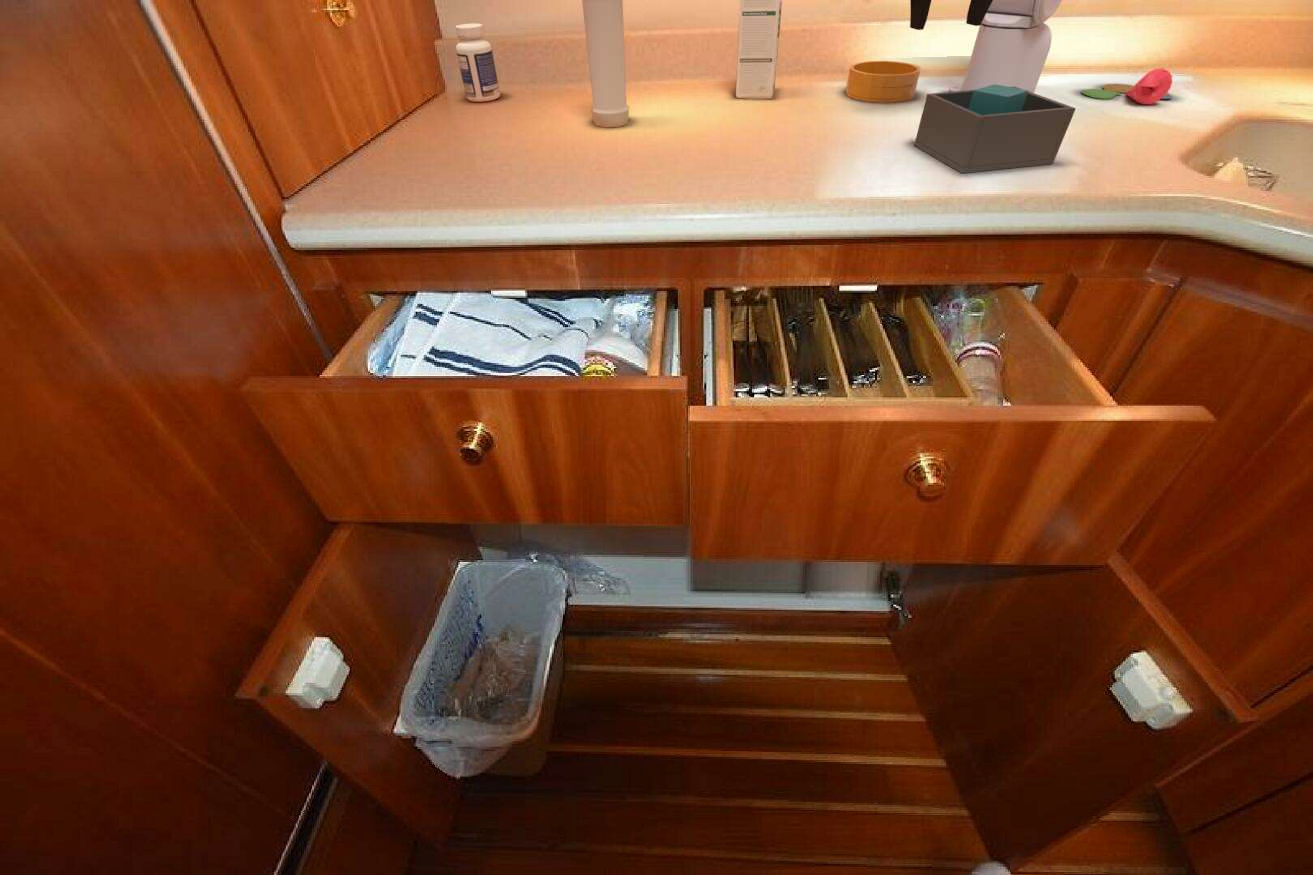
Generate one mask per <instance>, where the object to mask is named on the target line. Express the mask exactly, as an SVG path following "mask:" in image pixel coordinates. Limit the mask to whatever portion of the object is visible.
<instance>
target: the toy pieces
mask: <svg viewBox="0 0 1313 875" xmlns="http://www.w3.org/2000/svg"><path fill="white" fill-rule="evenodd" d="M1172 84H1173V75H1172V73H1171V72H1170V71H1169V70H1167V69H1166V68H1163V67H1162V68H1155V69H1152V70H1150V71H1148V72H1146V74H1145V75H1144V76H1142V77H1141V79H1139V80H1138V81H1137V82H1136V83H1135V84H1134V85H1132V84H1123V83H1108V84H1103V86H1102V88H1089V89H1083V90H1081V91H1080V93H1081V94H1082V95H1084V96H1087V97H1091V98H1094V99H1100V100H1101V99H1102V100H1105V99H1106V100H1107V99H1109V100H1110V99H1113V98H1114V97H1116V96H1122V94H1125V95H1126V96H1128V97H1129V98H1130V99H1132V100H1134V101H1136V102H1137V103H1139V104H1140V105H1151V104H1154V103H1156V102H1158V101H1160V100H1172V99H1173V95H1171V94H1170V93H1168V92H1169V91H1170V90H1171V87H1172Z"/></svg>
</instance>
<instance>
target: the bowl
mask: <svg viewBox="0 0 1313 875" xmlns="http://www.w3.org/2000/svg"><path fill="white" fill-rule="evenodd" d="M921 70H922V69H921V67H919V66H918V65H915V64H913V63H908V62H902V61H894V60H893V61H892V60H870V61H861V62H856V63H853V64H851V65H850V67H849V70H848V75H847V76H848V77H847V82H846V87H845V95H846V96H847V97H849V98H850V99H852V100H853V99H854V100H856V101H861V102H868V103H880V104H882V103H884V104H889V103H901V102H906V101H909V100H912V99H913V98H914V96H915V94H916V90H917V87H918V82H919V78H920V73H921Z"/></svg>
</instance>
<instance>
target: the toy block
mask: <svg viewBox="0 0 1313 875" xmlns="http://www.w3.org/2000/svg"><path fill="white" fill-rule="evenodd" d="M1027 93H1028V90H1023V89H1018V88H1012V87H1007V86H1001V85H996V84H994V85H990V86H987V87H983V88H980V89H976V90H974V92H973V95H972V99H971V102H970V105H969V109H968V110H970V111H973V112H975V113H977V114H980V115H988V114H1000V113H1011V112H1021V110H1022V107H1023V105H1024V102H1025V99H1026V96H1027Z"/></svg>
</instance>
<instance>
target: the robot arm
mask: <svg viewBox="0 0 1313 875" xmlns="http://www.w3.org/2000/svg"><path fill="white" fill-rule="evenodd" d="M1062 1H1063V0H970V2H969V5H968V6H969V7H968V11H967V15H966V22H965V24H966V25H970V26H973V27H979V28H978V31H977V34H976V38H975V40H974V41H975V42H974V45H973V49H972V51H971V54H970V59H969V63H968V65H967V69H966V72H965V76H964V80H963V83H962V86H956V87H955V86H954V87H949V88H948V90H947V92H954V91H966V90H976V89H980V88H983V87H987V86H990V85H994V84H996V85H1001V86H1007V87H1013V86H1015V87H1017V88H1020V89H1023V90H1028V91H1029V92H1032V93H1034V94H1035V91H1036V88H1037V86H1038V83H1039V80H1040V77H1041V75H1042V72H1043V69H1044V67H1045V64H1046V61H1047V58H1048V55H1049V53H1050V49H1051V46H1052V30H1051V28H1050V26H1049V25H1048V24H1047V23H1045V22H1046V21H1048V20H1049V19H1050V18H1051V17H1052V16H1053V15H1054V14H1055V12H1056V11H1057V10H1058V8H1059V7H1060V5H1061V3H1062ZM909 2H910V20H909V22H910V23H909V28H910V29H913V30H917V31H922V30H924V29H925V26H926V24H927V21H928V17H929V13H930V8H931V5H932V0H910V1H909Z"/></svg>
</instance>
